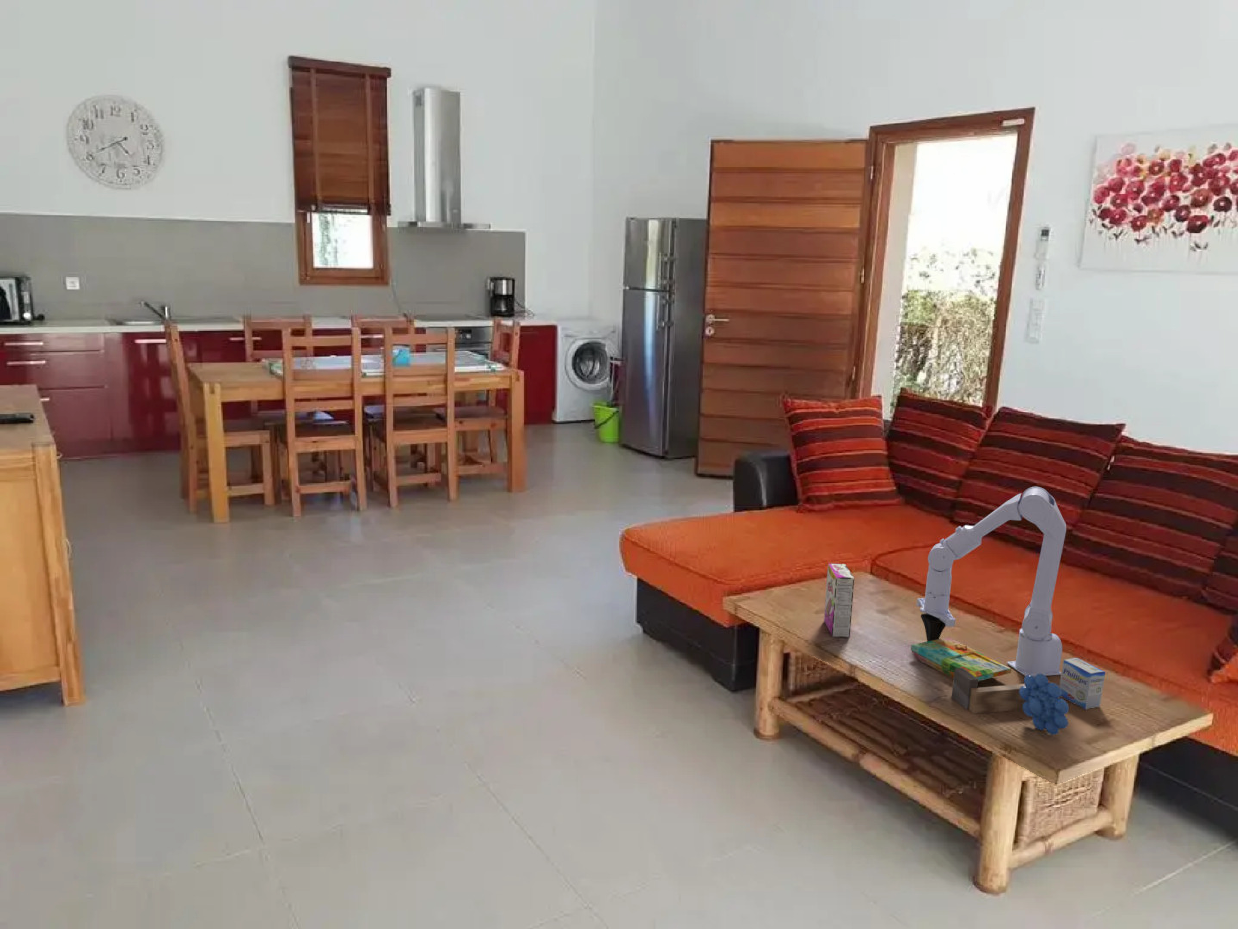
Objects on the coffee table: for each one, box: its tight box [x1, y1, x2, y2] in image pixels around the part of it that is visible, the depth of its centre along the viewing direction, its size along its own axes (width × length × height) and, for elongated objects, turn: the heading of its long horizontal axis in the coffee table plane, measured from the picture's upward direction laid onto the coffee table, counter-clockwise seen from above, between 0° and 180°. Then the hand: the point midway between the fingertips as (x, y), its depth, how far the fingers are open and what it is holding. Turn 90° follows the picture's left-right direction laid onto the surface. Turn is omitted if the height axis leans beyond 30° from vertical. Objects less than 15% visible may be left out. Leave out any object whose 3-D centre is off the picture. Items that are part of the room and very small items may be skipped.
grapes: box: [1019, 674, 1070, 736], centre depth 200 cm, size 12×7×12 cm, turn 30°
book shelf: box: [951, 668, 1054, 715], centre depth 213 cm, size 20×8×7 cm, turn 103°
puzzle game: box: [910, 637, 1012, 682], centre depth 229 cm, size 12×5×20 cm
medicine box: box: [1058, 657, 1106, 710], centre depth 215 cm, size 8×4×9 cm, turn 22°
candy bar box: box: [823, 563, 855, 638], centre depth 251 cm, size 11×5×16 cm, turn 179°
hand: (932, 643), depth 241 cm, fingers closed
